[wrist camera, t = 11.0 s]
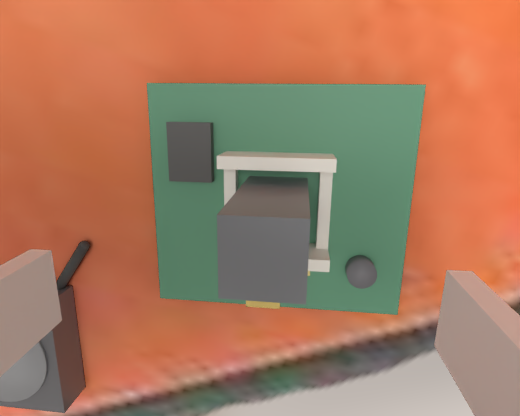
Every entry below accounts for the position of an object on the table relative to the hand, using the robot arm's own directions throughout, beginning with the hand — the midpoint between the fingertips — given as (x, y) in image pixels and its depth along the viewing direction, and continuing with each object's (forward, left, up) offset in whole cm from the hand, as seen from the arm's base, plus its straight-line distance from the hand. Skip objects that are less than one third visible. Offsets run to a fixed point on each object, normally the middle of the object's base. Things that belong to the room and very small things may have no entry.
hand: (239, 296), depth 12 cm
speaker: (+13, -22, -15) cm, 29 cm away
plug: (0, 0, -14) cm, 14 cm away
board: (0, 0, -15) cm, 15 cm away
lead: (+6, -16, -15) cm, 23 cm away
